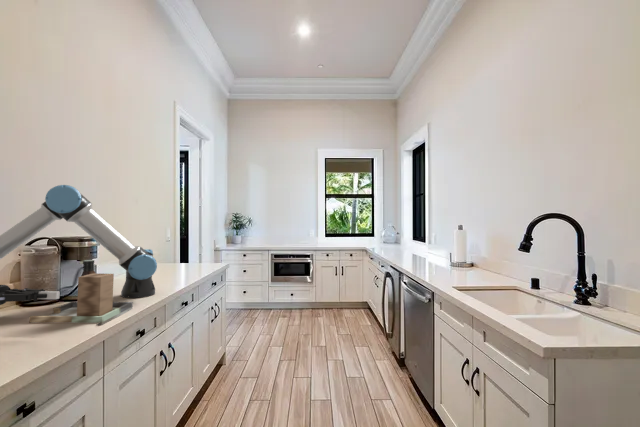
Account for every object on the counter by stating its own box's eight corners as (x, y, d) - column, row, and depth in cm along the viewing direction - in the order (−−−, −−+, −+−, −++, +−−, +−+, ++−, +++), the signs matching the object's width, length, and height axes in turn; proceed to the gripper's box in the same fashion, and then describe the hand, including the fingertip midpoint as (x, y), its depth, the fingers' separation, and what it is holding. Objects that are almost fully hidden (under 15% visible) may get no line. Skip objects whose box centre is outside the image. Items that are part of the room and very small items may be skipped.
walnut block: (76, 320, 116) (78, 277, 116) (91, 314, 124) (92, 273, 124) (99, 320, 116) (100, 277, 117) (112, 314, 124) (113, 273, 125)
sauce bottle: (86, 302, 144) (88, 259, 145) (99, 303, 144) (101, 259, 144) (75, 306, 138) (76, 260, 138) (88, 306, 137) (90, 261, 138)
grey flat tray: (29, 325, 113) (29, 316, 113) (71, 308, 134) (71, 301, 134) (101, 325, 114) (102, 316, 114) (132, 309, 135) (132, 302, 135)
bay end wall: (100, 324, 115) (100, 316, 115) (116, 316, 125) (116, 308, 125) (103, 324, 115) (103, 316, 115) (119, 316, 125) (119, 308, 125)
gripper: (7, 300, 124) (69, 300, 126) (-27, 309, 111) (43, 310, 113) (8, 281, 125) (70, 282, 126) (-26, 288, 112) (44, 289, 113)
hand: (57, 295), depth 120 cm, fingers closed
